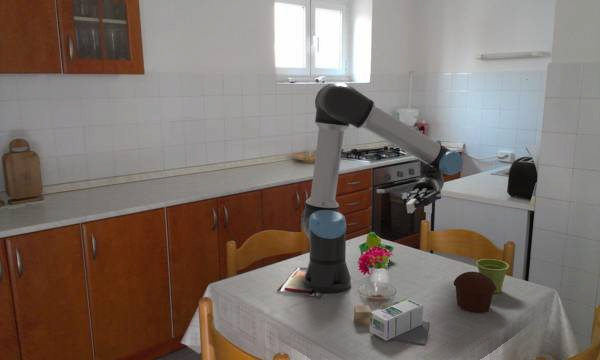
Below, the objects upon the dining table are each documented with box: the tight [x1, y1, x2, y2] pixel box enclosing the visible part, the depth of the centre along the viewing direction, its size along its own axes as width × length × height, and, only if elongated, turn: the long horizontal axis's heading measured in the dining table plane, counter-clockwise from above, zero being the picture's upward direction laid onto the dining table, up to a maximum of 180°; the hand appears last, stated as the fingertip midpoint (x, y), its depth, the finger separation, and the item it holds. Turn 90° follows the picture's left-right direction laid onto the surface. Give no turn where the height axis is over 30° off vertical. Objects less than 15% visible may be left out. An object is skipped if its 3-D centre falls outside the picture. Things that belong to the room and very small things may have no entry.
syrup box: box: [369, 297, 424, 341], centre depth 127 cm, size 6×6×14 cm
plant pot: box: [476, 258, 510, 294], centre depth 151 cm, size 9×9×9 cm
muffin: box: [453, 271, 496, 314], centre depth 140 cm, size 12×11×10 cm
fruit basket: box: [358, 231, 395, 261], centre depth 179 cm, size 11×9×11 cm
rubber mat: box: [376, 320, 430, 346], centre depth 127 cm, size 12×12×1 cm
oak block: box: [353, 305, 372, 327], centre depth 131 cm, size 4×4×4 cm
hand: (409, 208), depth 142 cm, fingers closed
